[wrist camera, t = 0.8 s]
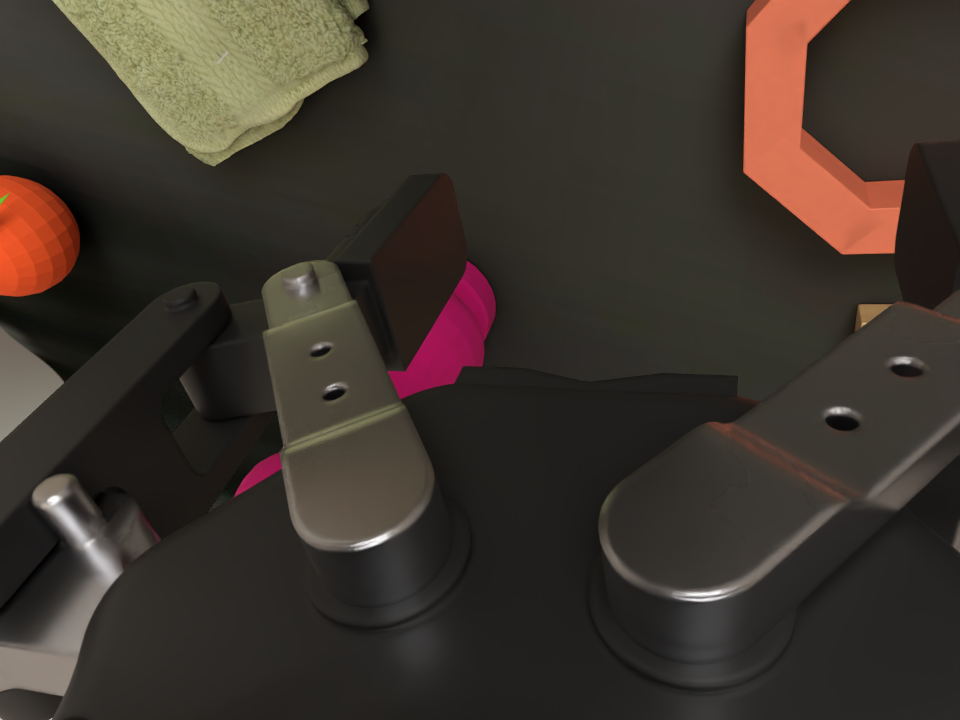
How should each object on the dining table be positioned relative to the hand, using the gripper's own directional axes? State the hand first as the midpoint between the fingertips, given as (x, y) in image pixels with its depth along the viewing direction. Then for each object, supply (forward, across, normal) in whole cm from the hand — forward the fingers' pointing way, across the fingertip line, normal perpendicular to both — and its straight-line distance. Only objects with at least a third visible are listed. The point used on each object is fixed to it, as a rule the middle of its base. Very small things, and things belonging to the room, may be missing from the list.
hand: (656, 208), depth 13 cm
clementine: (+18, +38, +7) cm, 43 cm away
